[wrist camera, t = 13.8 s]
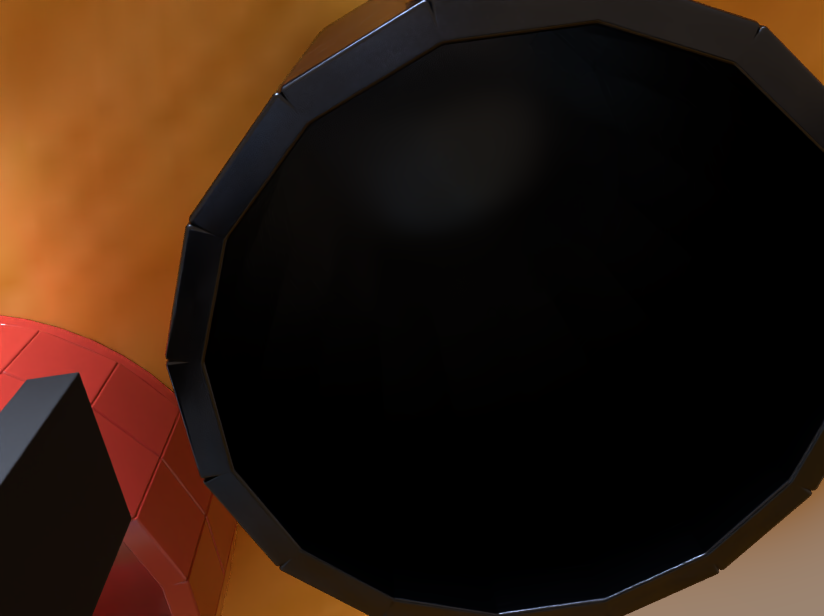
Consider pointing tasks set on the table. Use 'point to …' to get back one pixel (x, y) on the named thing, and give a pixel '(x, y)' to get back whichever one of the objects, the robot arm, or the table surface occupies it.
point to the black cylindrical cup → (513, 306)
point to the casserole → (137, 475)
